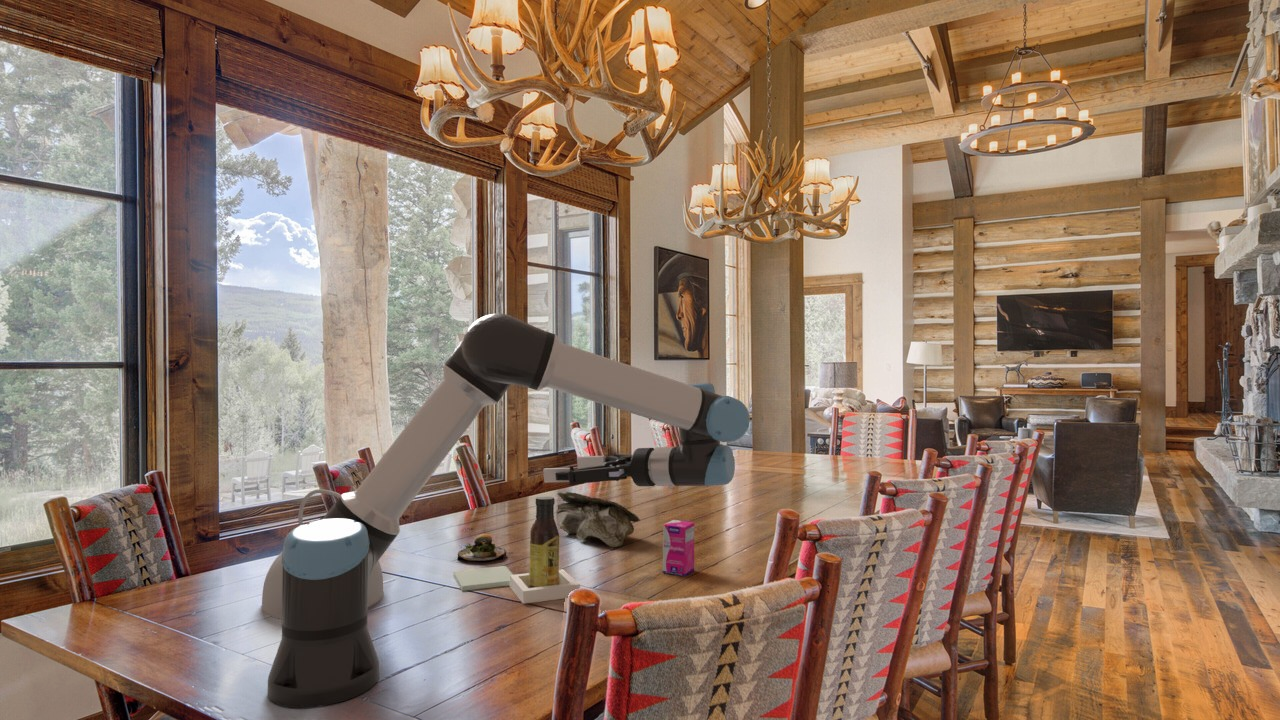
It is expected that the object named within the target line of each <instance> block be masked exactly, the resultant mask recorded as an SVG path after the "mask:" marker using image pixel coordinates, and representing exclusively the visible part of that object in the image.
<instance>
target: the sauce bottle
mask: <svg viewBox="0 0 1280 720" xmlns="http://www.w3.org/2000/svg"><path fill="white" fill-rule="evenodd" d="M535 506H536V507H535V509H536V511H535V514H536V515H535V518H536V519H535V521H534V522H533V524H532V526H531V528H530V536H529V537H530V538H529V539H530V541H529V564H528V565H529V568H528V569H529V570H528V571H529V572H528V573H529V584H530V587H529V588H535V587H543V586H552V585H559V570H560V569H559V568H560V533H559V529H558V526H557V523H556V521H555V516H554V510H555V509H554V507H555V497H554V496H537V497H535Z"/></svg>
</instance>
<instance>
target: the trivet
mask: <svg viewBox="0 0 1280 720" xmlns="http://www.w3.org/2000/svg"><path fill="white" fill-rule="evenodd" d="M452 573H453V575H452V576H453V578H454V579H455V582H456V583H457V584H458V586H459V589H460V590H461V592H465V591H474V590H482V589H483V590H484V589H490V588H491V589H492V588H498V587H499V588H500V587H507V586H510V575H514V574H513V573H512V571H511V570H510V569H509V568H508V567H507V566H506V565H502V566H501V565H499V566H491V567H481V568H473V569H463V570H455V571H453V572H452Z"/></svg>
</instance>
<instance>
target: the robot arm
mask: <svg viewBox="0 0 1280 720" xmlns="http://www.w3.org/2000/svg"><path fill="white" fill-rule="evenodd" d="M442 370H443V372H442V373H443V378H442V379H441V381H440V382H439V383H438V385H437V386H436V387H435V388H434V390H433V391H432V392H431V394H430V395H429V396H428V398H427V399H426V400H425V401H424V403H422V405H421V407H420V408H419V409H418V410H417V412H416V413H415V414H414V416H413V417H412V418H411V419H410V421H409V422H408V423H407V425H406V426H405V427H404V428H403V429H402V431H401V433H400V434H399V435H398V436H397V437H396V438H395V440H394V441H393V442H392V444H391V445H390V447H389V448H388V449H387V451H386V452H385V453H384V454H383V456H382V457H381V458H380V459H379V460H378V462H377V463H376V465H375V466H374V467H373V468H372V469H371V471H369V473H368V475H367V476H366V478H364V480H363V481H362V482H361V484H360V485H359V486H358V487H357V489H356V490H354V491H350V492H349V491H348V492H344V493H342V494H341V496H340V497H339V498H337V500H336V501H335V502H334V504H333V505H332V506H331V507H330V509H329V510H328V511H327V513H326V514H325V515H324V516H325V517H324V518H323V519H322V520H320V519H319V520H318V519H317V520H313V521H310V522H307V523H306V524H304V523H303V525H300V526H299V525H298V526H297V527H295V528H293V529H292V530H290V531H289V532H288V533H287V535H286V536H285V538H284V540H283V548H282V551H281V552H282V555H281V557H282V565H283V577H282V619H281V640H280V643H279V645H278V649H277V651H276V654H275V657H274V660H273V662H272V664H271V669H270V671H269V675H268V678H267V697H268V699H269V700H270V701H271V702H272V703H274V704H276V705H279V706H282V707H285V708H286V707H287V708H316V707H322V706H328V705H334V704H337V703H341V702H343V701H347V700H350V699H352V698H355V697H357V696H360V695H361V694H363V693H365V692H367V691H369V690H370V689H371V688H373V687H374V686H375V685H376V683H377V682H378V680H379V678H380V661H379V656H378V655H377V651H376V649H375V645H374V643H373V640H372V637H371V633H370V631H369V628H368V627H369V626H368V607H367V599H368V578H369V576H370V574H371V571H372V569H373V567H374V566H375V565H376V563H377V562H378V560H379V561H380V559H381V558H382V557H383V555H384V554H385V553H386V551H387V550H388V548H389V547H390V546H391V544H392V543H393V542H394V540H395V539H396V538H397V537H398V535H399V534H400V532H401V527H400V518H401V517H402V515H403V514H404V513H405V511H407V508H408V507H409V506H410V505H411V504H412V502H413V501H414V499H416V496H418V494H419V493H420V491H421V490H422V489H423V487H425V485H426V484H427V482H428V481H429V480H430V479H431V477H432V476H433V475H434V473H435V472H436V470H438V469H439V466H440V465H441V463H443V461H444V460H445V458H446V457H447V456H448V454H450V451H451V450H452V449H453V448H454V447H455V446H456V444H457V443H458V441H459V440H460V439H461V437H463V435H464V433H465V432H466V431H467V429H468V428H469V427H470V425H471V424H472V423H473V422H474V420H475V419H476V418H477V416H479V414H480V412H481V411H482V410H483V408H485V407H487V406H491V405H497V404H498V402H500V400H501V398H502V397H503V396H504V395H505V394H506V392H507V391H508V390H509V389H510V387H511V386H512V385H513V386H520V387H524V388H529V389H532V390H534V391H540V390H543V389H544V388H548V389H552V390H556V391H558V392H561V393H565V394H568V395H572V396H575V397H578V398H582V399H585V400H588V401H590V402H595V403H597V404H601V405H603V406H607V407H610V408H614V409H616V410H620V411H624V412H626V413H630V414H633V415H636V416H640V417H642V418H643V417H644V418H646V419H650V420H652V421H655V422H659V423H663V424H666V425H669V426H672V427H675V428H678V433H679V435H678V436H679V443H680V446H657V447H655V448H654V447H638V448H636V449H634V450H633V453H632V454H624V453H613V454H608V455H606V456H605V455H591V456H590V455H589V456H587V455H586V456H584V455H583V456H582V455H581V456H577V457H576V463H577V464H576V465H577V468H574V466H573V465H569V467H550V468H549V467H545V468H542V471H543V483H546V484H547V483H569V485H570V486H575V485H582V484H591V483H599V482H601V483H602V482H610V481H611V482H612V481H613V482H614V481H616V482H619V481H621V480H626V479H628V477H630V478H631V479H632V482H633V483H634V485H636V486H637V487H655V486H657V487H666V486H667V487H668V489H669V490H671V489H672V490H673V488H674V487H678V486H679V487H687V486H688V487H689V486H690V487H693V486H694V487H712V486H725V485H729V484H730V483H731V482H732V480H733V478H734V475H735V470H736V469H735V468H736V465H735V464H736V463H735V462H736V460H735V456H734V453H733V452H734V451H733V450H732V448H731V446H729V445H727V444H722V443H728V442H729V443H731V442H732V443H733V442H735V441H737V440H739V439H741V438H742V437H743V436H745V434H746V433H747V431H748V430H749V426H750V422H751V419H750V418H751V416H750V412H749V410H748V407H747V406H746V405H745V404H744V403H743V401H741V400H739V399H738V398H736V397H733V396H731V395H730V396H729V395H720V394H718V393H716V391H715V390H716V389H715V386H714V384H713V383H710V382H700V383H699V382H697V383H688V384H687V383H685V382H682V381H679V380H675V379H673V378H670V377H666V376H663V375H661V374H657V373H654V372H651V371H648V370H645V369H641V368H639V367H636V366H632V365H629V364H626V363H624V362H620V361H618V360H614V359H612V358H608V357H606V356H602V355H599V354H596V353H594V352H590V351H587V350H583V349H581V348H578V347H574V346H572V345H569V344H566V343H563V342H561V340H560V339H559V336H558V335H557V334H555V333H553V332H549V331H546V330H544V329H541V328H539V327H536V326H534V325H531V324H529V323H527V322H525V321H523V320H521V319H519V318H517V317H515V316H512V315H511V314H510V315H509V314H505V313H502V312H501V313H500V312H499V313H490V314H486V315H483V316H481V317H480V318H477V319H476V320H475V321H474V322H473V323H472V324H471V325H470V326H469V327H468V328H467V330H466V332H465V333H464V336H463V338H462V339H461V341H460V342H459V343H458V345H457V346H456V347H455V348H454V349H453V351H452V352H451V354H450V355H449V356H448V357H447V358H446V360H444V362H443V364H442ZM721 442H722V443H721Z"/></svg>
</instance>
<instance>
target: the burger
mask: <svg viewBox="0 0 1280 720" xmlns="http://www.w3.org/2000/svg"><path fill="white" fill-rule="evenodd" d="M483 529H484V530H483V531H486V530H485V529H486V528H485V526H484V528H483ZM473 541H474V542H473V543H474V544H472V545H471V544H470V542H468V543H467V544H468V545H465V546H464V547H465V548H463V549H462V550H460V551H458V552H457V558H456V559H457V561H458V560H459V559H460V558H461V559H464V560H467V561H476V562H479V561H483V562H485V561H491V560H495V559H498V558H500V557H502V560H503V561H504V560H506V558H507V550H506V549H505V548H503V547H499V546H496V544H495V543H493V537H492V536H491V535H490V534H487V533H481V534H479V535H477V536H476V537H475V538H474V540H473Z"/></svg>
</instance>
